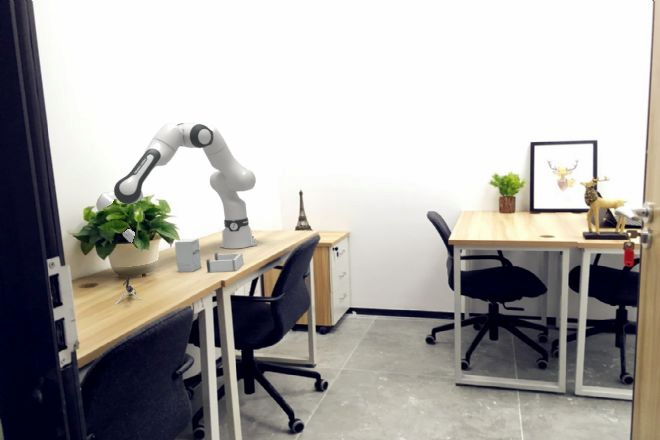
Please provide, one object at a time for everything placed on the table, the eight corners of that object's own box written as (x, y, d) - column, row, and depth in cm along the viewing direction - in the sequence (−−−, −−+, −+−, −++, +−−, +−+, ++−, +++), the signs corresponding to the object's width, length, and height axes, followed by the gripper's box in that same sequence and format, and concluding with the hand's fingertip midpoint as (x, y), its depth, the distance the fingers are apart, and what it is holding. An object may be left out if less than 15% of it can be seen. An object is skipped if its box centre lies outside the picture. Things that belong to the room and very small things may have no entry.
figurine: (146, 311, 177) (136, 312, 158) (121, 305, 176) (108, 306, 156) (154, 283, 179) (146, 281, 160) (130, 277, 178) (118, 274, 158)
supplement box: (193, 271, 203) (190, 241, 201) (177, 272, 204) (174, 241, 203) (202, 267, 210) (199, 238, 208) (186, 267, 212) (182, 238, 210)
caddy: (216, 264, 213) (215, 252, 213) (243, 263, 213) (242, 251, 212) (207, 272, 200) (206, 259, 199) (236, 270, 200) (235, 258, 199)
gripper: (123, 222, 195) (150, 245, 196) (144, 215, 215) (169, 236, 216) (113, 234, 196) (140, 257, 197) (136, 226, 216) (160, 246, 217)
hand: (155, 246), depth 206 cm, fingers closed
